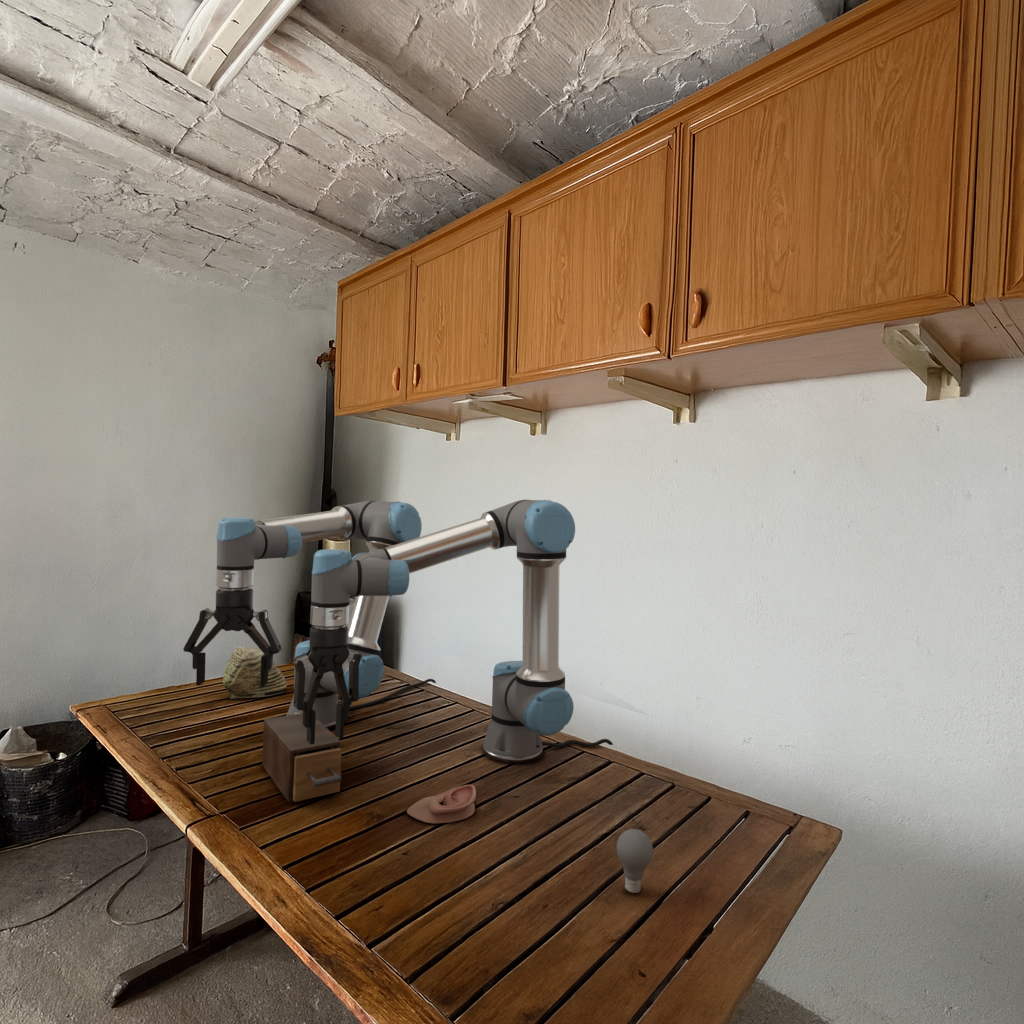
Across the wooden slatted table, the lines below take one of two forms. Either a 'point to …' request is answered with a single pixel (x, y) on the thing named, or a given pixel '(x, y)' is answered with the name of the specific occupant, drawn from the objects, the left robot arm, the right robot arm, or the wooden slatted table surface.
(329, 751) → the drawer
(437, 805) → the anatomical model
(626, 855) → the light bulb
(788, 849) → the wooden slatted table surface
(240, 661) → the fossil
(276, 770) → the cabinet
